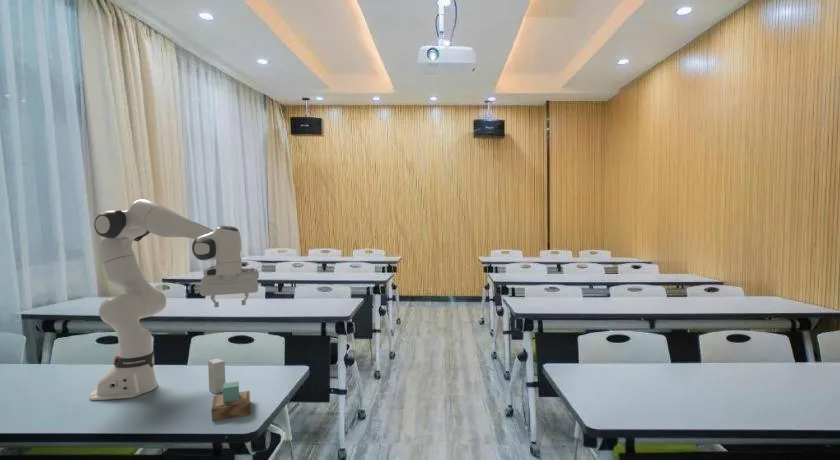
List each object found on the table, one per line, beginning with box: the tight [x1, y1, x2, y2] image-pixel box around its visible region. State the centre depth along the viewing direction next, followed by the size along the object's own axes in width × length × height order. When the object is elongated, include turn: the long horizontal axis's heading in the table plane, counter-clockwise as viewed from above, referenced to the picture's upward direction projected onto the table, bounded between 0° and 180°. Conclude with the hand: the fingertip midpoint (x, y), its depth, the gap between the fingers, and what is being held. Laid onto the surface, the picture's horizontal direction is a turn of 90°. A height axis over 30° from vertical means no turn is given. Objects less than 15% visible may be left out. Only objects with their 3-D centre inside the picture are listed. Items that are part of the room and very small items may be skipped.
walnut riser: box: [211, 390, 251, 422], centre depth 161 cm, size 12×12×4 cm
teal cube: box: [222, 381, 240, 403], centre depth 160 cm, size 5×5×5 cm
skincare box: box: [207, 357, 226, 395], centre depth 179 cm, size 6×4×12 cm
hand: (230, 305), depth 170 cm, fingers open, 8 cm apart
